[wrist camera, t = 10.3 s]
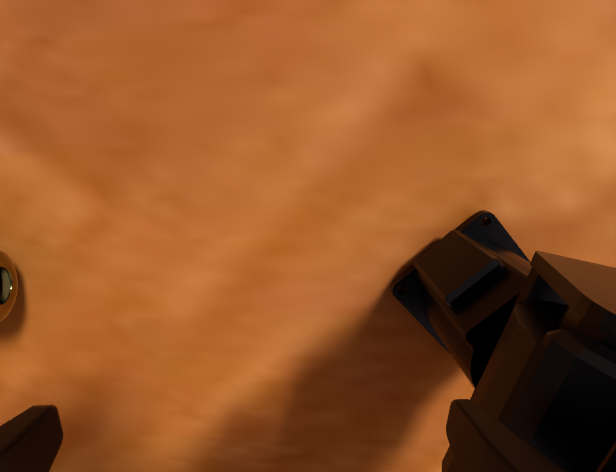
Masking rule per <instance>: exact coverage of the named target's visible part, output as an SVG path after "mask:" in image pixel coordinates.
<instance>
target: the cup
mask: <svg viewBox="0 0 616 472" xmlns="http://www.w3.org/2000/svg"><path fill="white" fill-rule="evenodd" d="M17 290H18V280H17V273H16V270H15V267H14V264H13V262H12V261H11V259H10V258H9V256H8V255H7V254H6V253H4V252H3V251H1V250H0V322H1V321H2V320H4V319H5V318H6V317H7V316H8V314H9V313H10V311H11V310H12V308H13V306H14V303H15V300H16V296H17Z"/></svg>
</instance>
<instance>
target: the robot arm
mask: <svg viewBox="0 0 616 472" xmlns="http://www.w3.org/2000/svg"><path fill="white" fill-rule="evenodd" d="M485 217H487V221H486V222H485V223H484V224H481V221H482V219H483V218H485ZM400 286H404V288H403V290H401V291H397V289H398V287H400ZM390 288H391V291H392V293H393V295H394V296H395V297H396V298H397V299H398V300H399V301H400V302H401V303H402V304H403V306H404V307H405V308H406V309H407V310H408V311H409V312H410V313H411V314H412V315H413V316H414V317H415V318H416V319H417V320H418V321H419V322H420V323H421V324H422V325H423V326H424V327H425V328H426V329H427V330H428V331H429V332H430V333H431V334H432V335H433V336H434V338H435V339H436V340H437V341H438V342H439V343H440V344H441V345H442V346H443V347H444V348H445V349H446V350H447V351H448V352H449V353H450V354H451V355H452V356H453V358H454V359H455V361H456V362H457V364H458V365H459V367H460V368H461V370H462V371H463V372H464V374H465V375H466V377H467V378H468V380H469V381H470V383H471V384H472V386H473V387H474V389H475V390H474V392H473V395H472V397H471V399H470V400H468V399H456V400H453V401H452V402H451V405H450V410H449V415H448V420H447V425H446V433H447V438H448V441H449V444H450V446H449V448H448V450H447V452H446V455H445V457H444V459H443V461H442V472H616V268H613V267H609V266H604V265H599V264H595V263H590V262H586V261H581V260H577V259H572V258H567V257H563V256H558V255H554V254H549V253H545V252H540V251H536V252H535V254H534V256H533V258H532V261H531V262H530V261H529V260H528V258H527V257H526V256H525V254H524V253H523V252H522V251H521V249H520V248H519V247H518V245H517V244H516V243H515V241H514V240H513V239H512V238H511V236H510V235H509V234H508V232H507V231H506V230H505V229H504V227H503V226H502V225H501V223H500V222H499V221H498V220H497V218H496V217H495V216H494V215H493V214H492V213H490V212H488V211H485V210H483V211H479V212H477V213H476V214H475V215H474V216H472V217H471V218H470V219H469V220H467V221H466V222H465V223H464V224H463V225H461V226H460V227H459V228H458V229H456V230H455V231H451V232H449V233H448V234H447V235H446V236H445V237H443V238H442V239H441V240H440V241H438V242H437V243H436V244H435V245H434V246H432V247H431V248H430V249H429V250H427V251H426V252H425V253H424V254H423V255H421V256H420V257H419V258H418V259H417V260H416V261H415V264H414V265H413V266H411V267H410V268H409V269H408V270H406V271H405V272H404V273H403V274H402V275H400V276H399V277H398V278H397V279H395V280H394V281H393V282H392V284H391V286H390ZM62 440H63V430H62V426H61V421H60V417H59V413H58V409H57V408H56V406H54V405H35V406H32V407H31V408H29V409H27V410H26V411H24V412H22V413H21V414H19V415H18V416H16V417H14V418H13V419H11V420H9V421H8V422H6V423H5V424H3V425H1V426H0V472H49V470H50V468H51V466H52V464H53V462H54V459H55V457H56V455H57V453H58V451H59V449H60V446H61V444H62Z"/></svg>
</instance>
